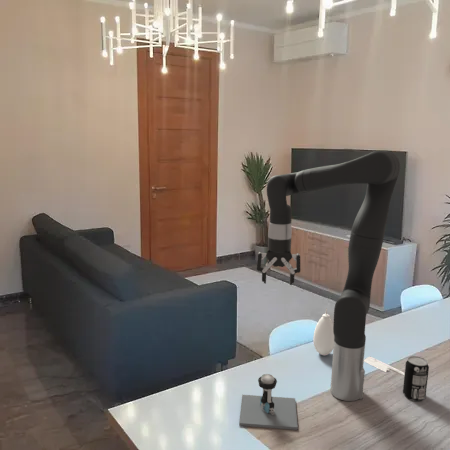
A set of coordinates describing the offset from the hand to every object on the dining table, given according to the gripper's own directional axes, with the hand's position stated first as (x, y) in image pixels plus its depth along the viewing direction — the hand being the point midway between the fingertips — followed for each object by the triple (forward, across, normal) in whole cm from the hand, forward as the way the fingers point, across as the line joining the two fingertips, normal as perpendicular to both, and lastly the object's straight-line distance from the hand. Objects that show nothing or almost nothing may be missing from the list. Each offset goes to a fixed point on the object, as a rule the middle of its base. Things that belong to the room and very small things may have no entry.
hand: (277, 283), depth 155 cm
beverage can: (+30, +43, -13) cm, 54 cm away
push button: (+30, -2, -27) cm, 40 cm away
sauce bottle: (+30, +18, +11) cm, 37 cm away
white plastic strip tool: (+31, +38, +4) cm, 49 cm away
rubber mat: (+30, -2, -27) cm, 40 cm away
